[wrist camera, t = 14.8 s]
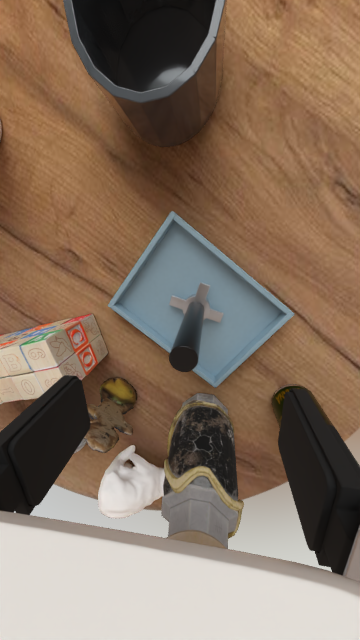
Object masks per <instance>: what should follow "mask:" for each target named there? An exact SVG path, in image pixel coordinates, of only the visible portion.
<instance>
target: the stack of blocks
mask: <svg viewBox="0 0 360 640" xmlns="http://www.w3.org/2000/svg"><path fill="white" fill-rule="evenodd" d="M107 354H108V351H107V348H106V345H105V343H104V340H103V338H102V335H101V332H100V330H99V327H98V325H97V322H96V320H95V318H94V316H93V314H88V315H85V316H81V317H77V318H74V319H73V318H70V319H65V320H61V321H57V322H53V323H48V324H44V325H40V326H37V327H34V328H30V329H25V330H21V331H17V332H13V333H9V334H5V335H4V334H3V335H0V404H2V403H6V402H12V401H18V400H23V399H24V400H28V399H34V398H39V397H40V396H41V395H42V394H43V393H45V392H46V391H47V390H48V389H49V388H50V387H51V386H52V385H54V384H55V383H56V382H57V381H58V380H59V379H60V378H61V377H63V376H64V375H72V376H78V378H79V379H80V380H82V379H83V378H84V377H85V376H87V375H88V374H89V373H90V372H91V371H92V370H93V369H94V368H95V367H96V366H97V365H98V363H99V362H100V361H101V360H102V359H103V358H104V357H105V356H106V355H107Z"/></svg>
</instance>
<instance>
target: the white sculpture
mask: <svg viewBox="0 0 360 640" xmlns="http://www.w3.org/2000/svg"><path fill="white" fill-rule="evenodd" d="M134 452H135V446H134V445H131V446H129V447H128V448H126V449H125V450H124V451H122V452H120V453H119V454H118V456H116V457H115V459H114V460H113V461H112V463H111V465H110V466H109V467H108V469H107V470H106V471H105V474H104V477H103V479H102V480H101V485H100V489H99V493H98V507H99V510H100V512H101V513H102V514H103V515H105V516H107V517H109V518H125V517H128V516H130V515H132V514H135V513H137V512H139V511H141V510H142V509H143V508H144V507H145V506H147V505H151V504H152V502H153V501H154V500H157V499H159V498H160V497H161V496H162V497H163V496H164V491H163V484H164V479H165V472H164V468H158V467H156V466H155V465H153V464H150V463H148V462H147V461H146V460H145V459H143V458H142V457H140V456H139V455H137V454H135V453H134ZM129 459H130V460H131V461H132V462H133V464H134V465H135V466H134V467H133V466H132V465H131V464H129V463H125V462H126V461H127V460H129Z"/></svg>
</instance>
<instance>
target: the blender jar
mask: <svg viewBox="0 0 360 640" xmlns="http://www.w3.org/2000/svg"><path fill="white" fill-rule="evenodd" d="M63 2H64V7H65V12H66V17H67V22H68V26H69V31H70V36H71V41H72V44H73V46H74V48H75V49H76V51H77V53H78V55H79V57H80V59H81V61H82V62H83V64H84V66H85V68H86V70H87V72H88V74H89V75H90V77H91V78H92V79H93V81H94V82H95V83H96V85H97V86H98V87H99V89H100V90H101V91H102V93H103V94H104V95H105V97H106V98H107V100H108V101H109V102H110V104H111V105H112V106H113V108H114V109H115V110H116V112H117V113H118V114H119V116H120V117H121V118H122V120H123V121H124V122H125V124H126V125H127V126H128V127H129V128H130V129H131V130H132V131H133V132H134V133H135V134H136V135H137V136H138V137H139V138H141V139H142V140H143V141H145V142H147V143H149V144H152V145H155V146H160V147H170V146H176V145H179V144H182V143H184V142H186V141H188V140H189V139H191V138H192V137H194V136H195V135H196V134H197V133H198V132H199V131H200V130H201V129H202V128H203V127H204V125H205V124H206V123H207V121H208V120H209V118H210V116H211V114H212V113H213V110H214V108H215V106H216V103H217V100H218V97H219V92H220V87H221V80H222V75H223V58H224V40H225V23H226V5H227V0H63Z"/></svg>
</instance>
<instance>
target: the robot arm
mask: <svg viewBox="0 0 360 640" xmlns="http://www.w3.org/2000/svg"><path fill="white" fill-rule="evenodd" d="M90 425H91V422H90V417H89V413H88V408H87V404H86V399H85V394H84V390H83V385H82V381H81V380H80V379H79V378H78V376H72V375H64V376H63V377H61V378H60V379H59V380H58V381H57V382H56V383H55V384H54V385H52V386H51V387H50V388H49V389H48V390H47V391H46V392H45V393H43V394H42V395H41V396H40V397H39V398H38V399H37V400H36V401H35V402H33V403H32V404H31V405H30V406H29V407H28V408H27V409H26V410H24V411H23V412H22V413H21V414H20V415H19V416H18V417H17V418H15V419H14V420H13V421H12V422H11V423H10V424H9V425H8V426H7V427H5V428H4V429H3V430H2V431H1V432H0V640H360V467H359V465H358V464H357V462H356V460H355V459H354V457H353V456H352V454H351V452H350V451H349V449H348V448H347V446H346V444H345V443H344V441H343V440H342V438H341V436H340V435H339V433H338V432H337V430H336V429H335V427H334V426H332V425H327V423H326V422H325V420H324V418H323V417H322V415H321V413H320V412H319V410H318V408H317V406H316V405H315V403H314V401H313V400H312V398H311V396H310V395H309V393H308V391H307V390H306V389H294V388H291V389H290V391H289V392H285V396H284V403H283V410H282V417H281V424H280V431H279V439H278V446H279V451H280V454H281V457H282V461H283V464H284V468H285V471H286V474H287V478H288V481H289V485H290V488H291V491H292V495H293V498H294V501H295V505H296V508H297V511H298V515H299V518H300V522H301V525H302V529H303V532H304V535H305V539H306V542H307V545H308V547H309V549H310V550H312V551H315V554H316V557H317V560H318V563H319V565H321V566H327V567H331V570H332V572H330V571H327V570H323V569H319V568H316V567H312V566H308V565H304V564H300V563H296V562H291V561H286V560H281V559H276V558H271V557H266V556H261V555H255V554H251V553H246V552H241V551H235V550H229V549H224V548H218V547H213V546H207V545H201V544H196V543H190V542H184V541H179V540H173V539H167V538H162V537H156V536H150V535H144V534H138V533H133V532H126V531H121V530H115V529H109V528H103V527H97V526H92V525H86V524H79V523H73V522H67V521H62V520H55V519H49V518H43V517H37V516H30V513H31V512H32V510H33V508H34V507H35V506H36V505H39V504H40V502H41V501H42V500H43V498H44V497H45V495H46V494H47V492H48V491H49V489H50V488H51V486H52V485H53V483H54V482H55V480H56V479H57V477H58V476H59V474H60V473H61V471H62V470H63V468H64V467H65V466H66V464H67V463H68V461H69V460H70V458H71V457H72V455H73V454H74V452H75V451H76V449H77V448H78V446H79V445H80V443H81V442H82V440H83V439H84V437H85V436H86V434H87V433H88V431H89V429H90ZM14 511H16V513H13V512H14Z"/></svg>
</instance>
